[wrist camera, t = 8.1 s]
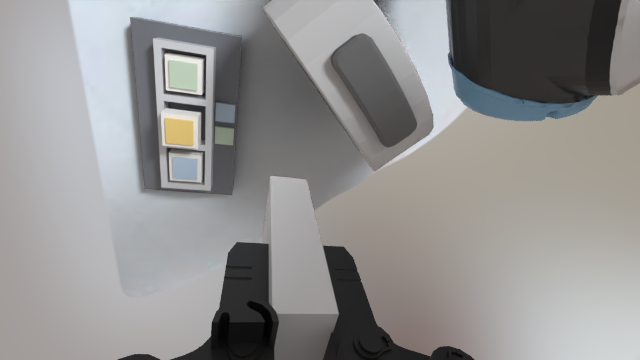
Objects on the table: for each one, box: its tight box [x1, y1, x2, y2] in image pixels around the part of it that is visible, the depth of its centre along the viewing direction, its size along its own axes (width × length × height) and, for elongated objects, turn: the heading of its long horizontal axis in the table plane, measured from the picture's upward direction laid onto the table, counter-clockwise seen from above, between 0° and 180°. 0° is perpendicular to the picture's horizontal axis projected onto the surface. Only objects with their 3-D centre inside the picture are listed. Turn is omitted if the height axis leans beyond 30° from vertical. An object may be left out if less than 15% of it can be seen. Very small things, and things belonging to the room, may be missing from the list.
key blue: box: [169, 148, 204, 183], centre depth 42 cm, size 4×4×2 cm
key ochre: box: [161, 108, 201, 149], centre depth 37 cm, size 4×4×2 cm
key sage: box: [165, 52, 205, 95], centre depth 37 cm, size 4×4×2 cm
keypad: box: [130, 17, 242, 195], centre depth 41 cm, size 22×12×4 cm, turn 169°
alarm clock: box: [263, 0, 433, 171], centre depth 34 cm, size 21×8×20 cm, turn 34°
